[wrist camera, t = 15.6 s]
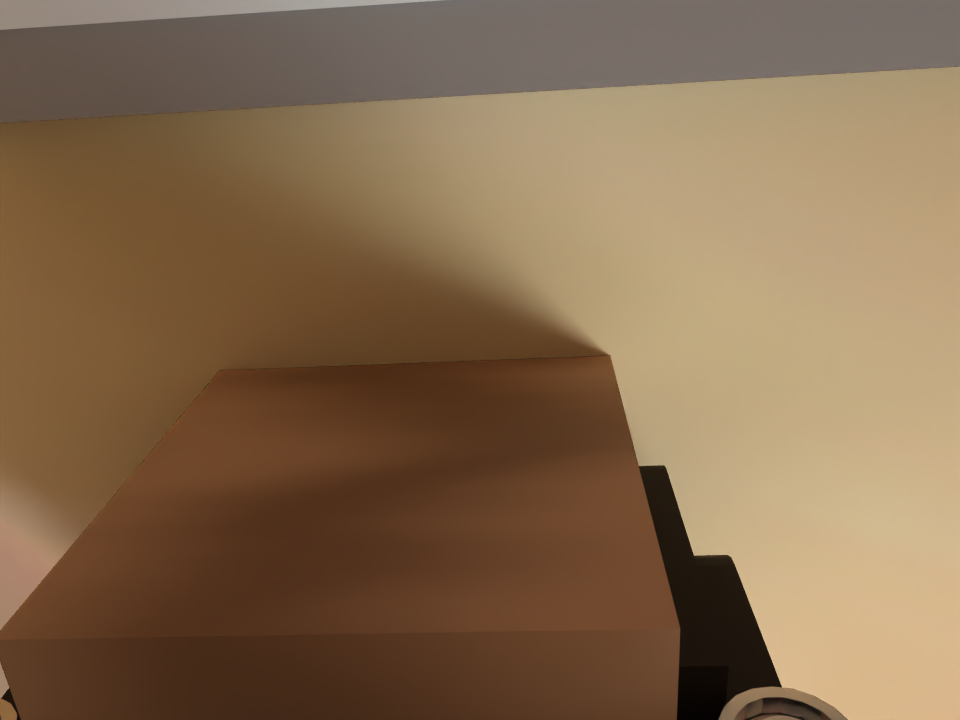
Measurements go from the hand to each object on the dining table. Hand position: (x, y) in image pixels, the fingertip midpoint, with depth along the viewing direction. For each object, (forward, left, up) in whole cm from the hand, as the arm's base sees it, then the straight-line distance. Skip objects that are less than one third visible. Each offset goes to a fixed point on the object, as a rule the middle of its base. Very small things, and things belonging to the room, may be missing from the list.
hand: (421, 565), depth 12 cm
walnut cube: (0, 0, -1) cm, 1 cm away
